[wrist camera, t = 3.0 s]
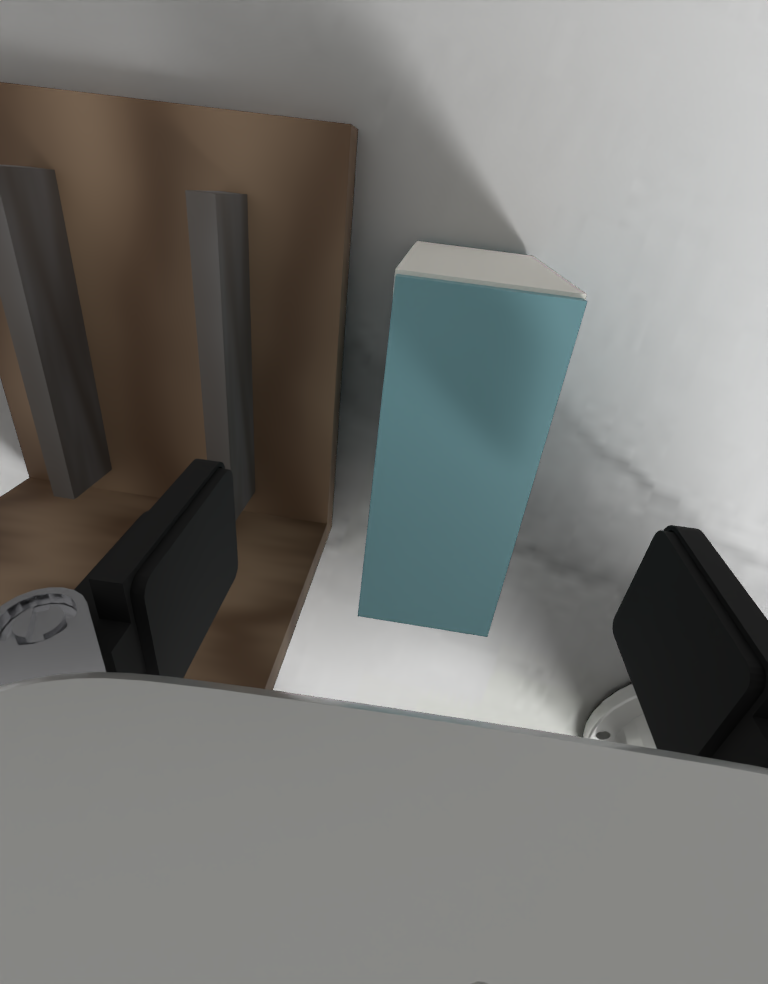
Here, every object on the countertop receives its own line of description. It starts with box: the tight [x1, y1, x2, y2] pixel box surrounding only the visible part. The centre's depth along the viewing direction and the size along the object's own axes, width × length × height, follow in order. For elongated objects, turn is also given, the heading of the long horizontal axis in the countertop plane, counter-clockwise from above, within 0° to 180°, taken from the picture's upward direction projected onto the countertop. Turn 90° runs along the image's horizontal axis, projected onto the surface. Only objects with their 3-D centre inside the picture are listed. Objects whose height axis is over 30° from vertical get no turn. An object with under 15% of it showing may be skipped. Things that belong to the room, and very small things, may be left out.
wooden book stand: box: [0, 82, 358, 690], centre depth 17 cm, size 16×18×16 cm
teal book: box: [358, 241, 587, 637], centre depth 19 cm, size 5×11×10 cm, turn 174°
